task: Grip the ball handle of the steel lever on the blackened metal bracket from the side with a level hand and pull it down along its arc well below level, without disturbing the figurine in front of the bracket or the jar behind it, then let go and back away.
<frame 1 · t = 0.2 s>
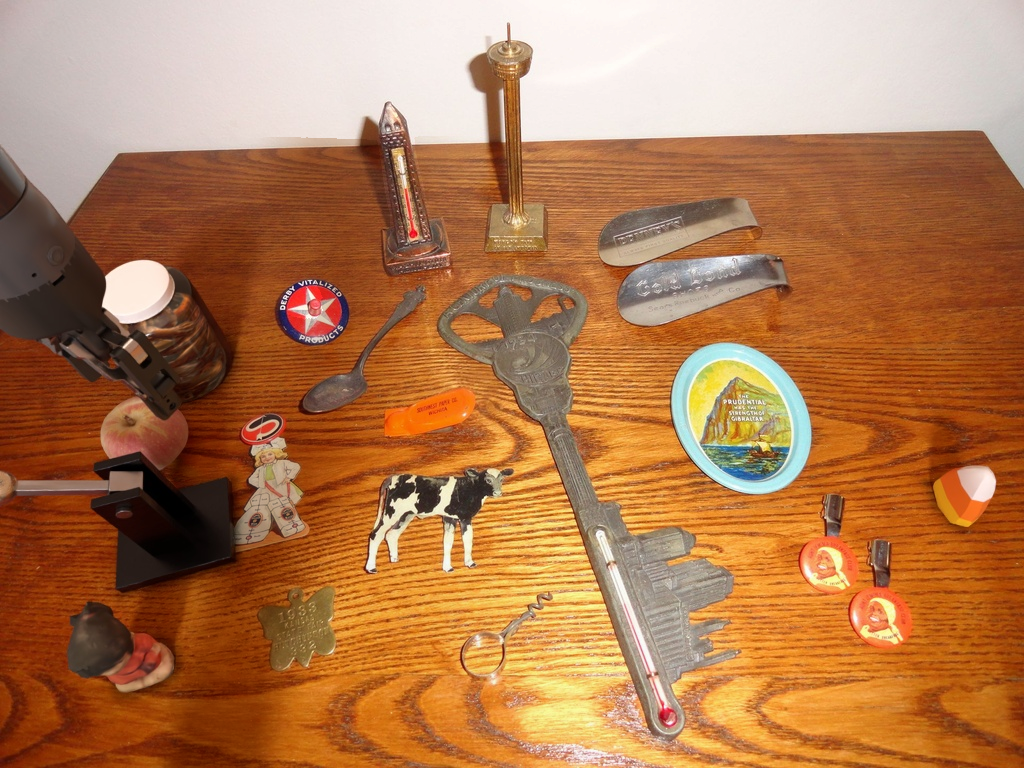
hand: (134, 392, 59), 24 cm above the table, tool pointing down, fingers open, 8 cm apart
bracket: (179, 535, 77), on the table
candy corn: (948, 506, 75), on the table
apple: (162, 453, 83), on the table
lever: (62, 487, 64), point 15 cm above the table, hinge at 30.0°
jar: (189, 365, 91), on the table
figurine: (145, 667, 69), on the table
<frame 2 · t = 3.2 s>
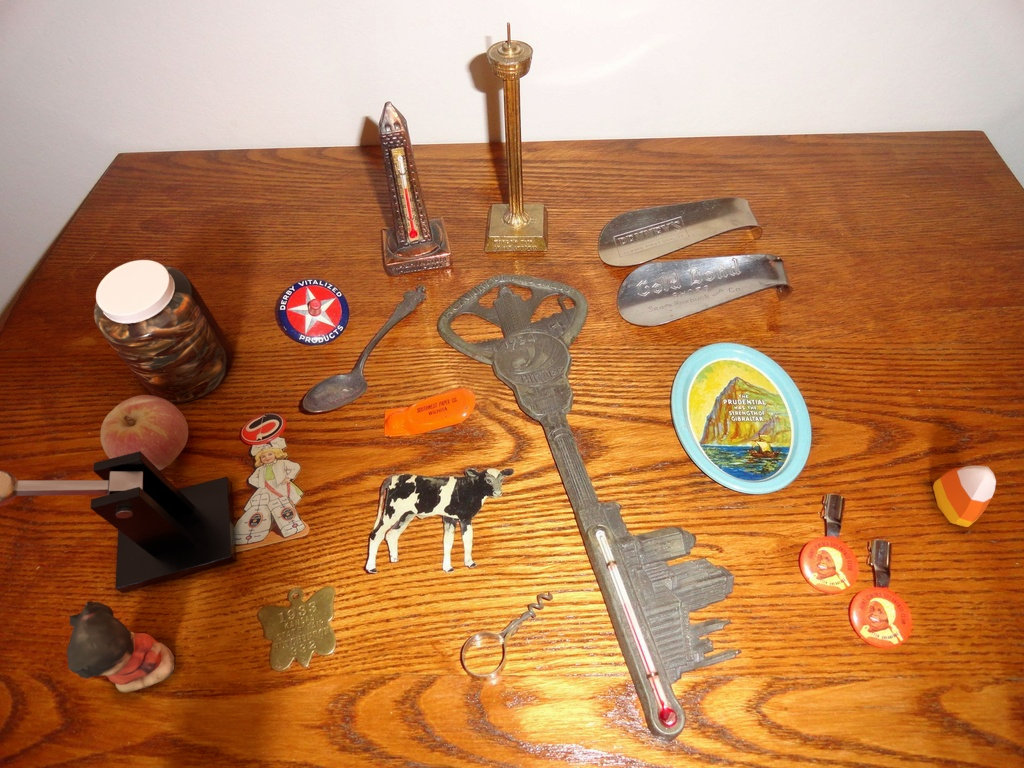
nothing on the table moved.
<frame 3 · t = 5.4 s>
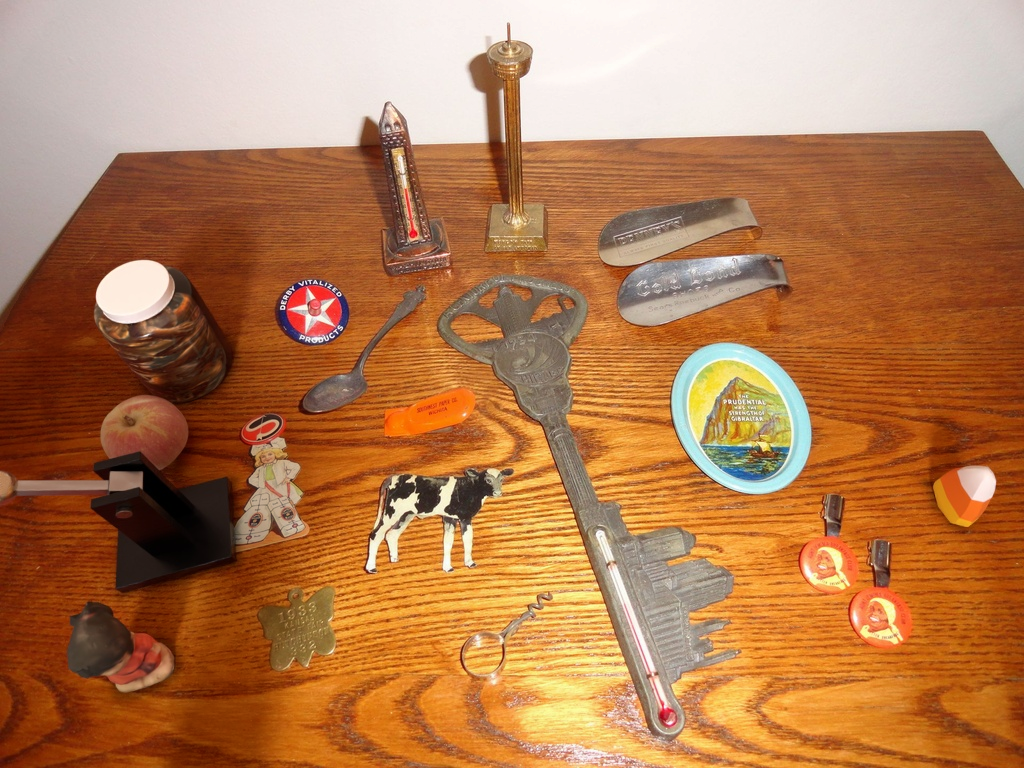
nothing on the table moved.
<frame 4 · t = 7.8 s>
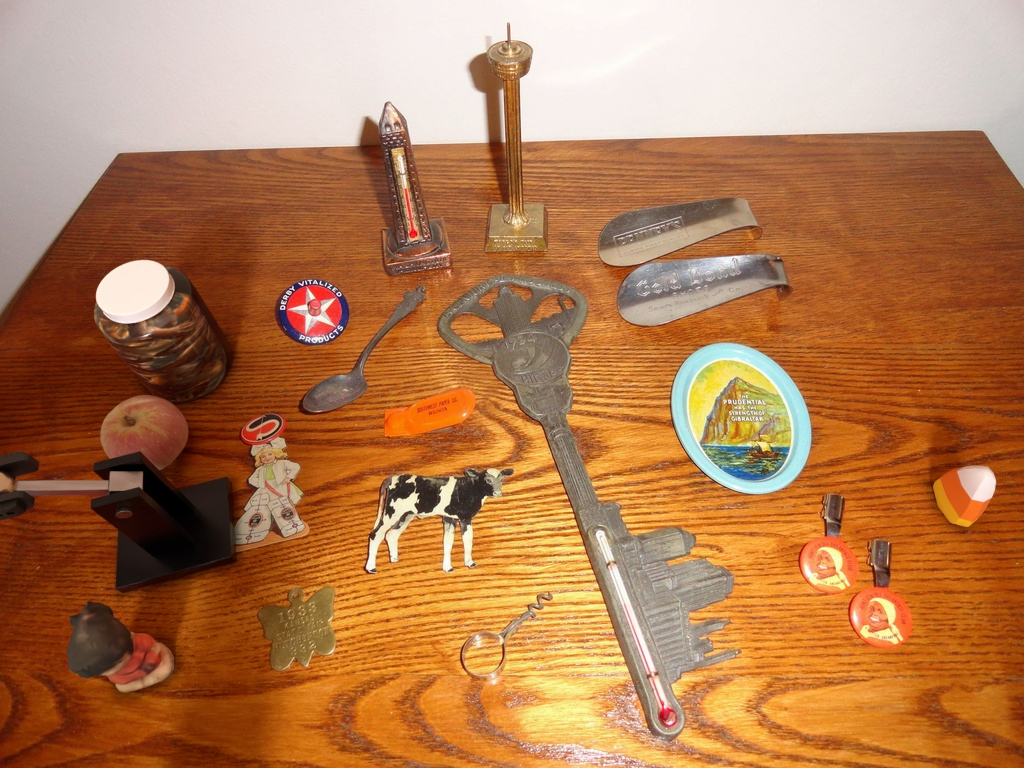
hand: (30, 479, 62), 17 cm above the table, tool horizontal, fingers closed on lever, 3 cm apart
lever: (62, 487, 64), point 15 cm above the table, hinge at 30.0°, touching gripper
everything else where it was.
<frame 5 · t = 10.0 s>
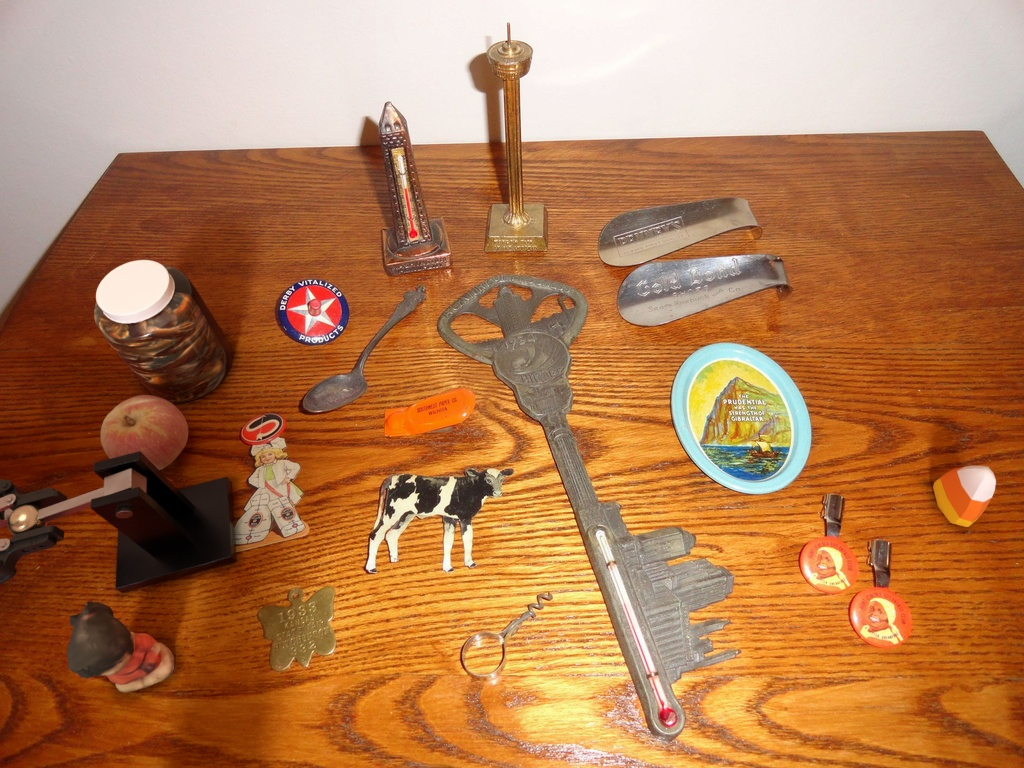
hand: (60, 514, 68), 10 cm above the table, tool horizontal, fingers closed on lever, 3 cm apart
lever: (75, 504, 67), point 11 cm above the table, hinge at -8.6°, touching gripper
everything else where it was.
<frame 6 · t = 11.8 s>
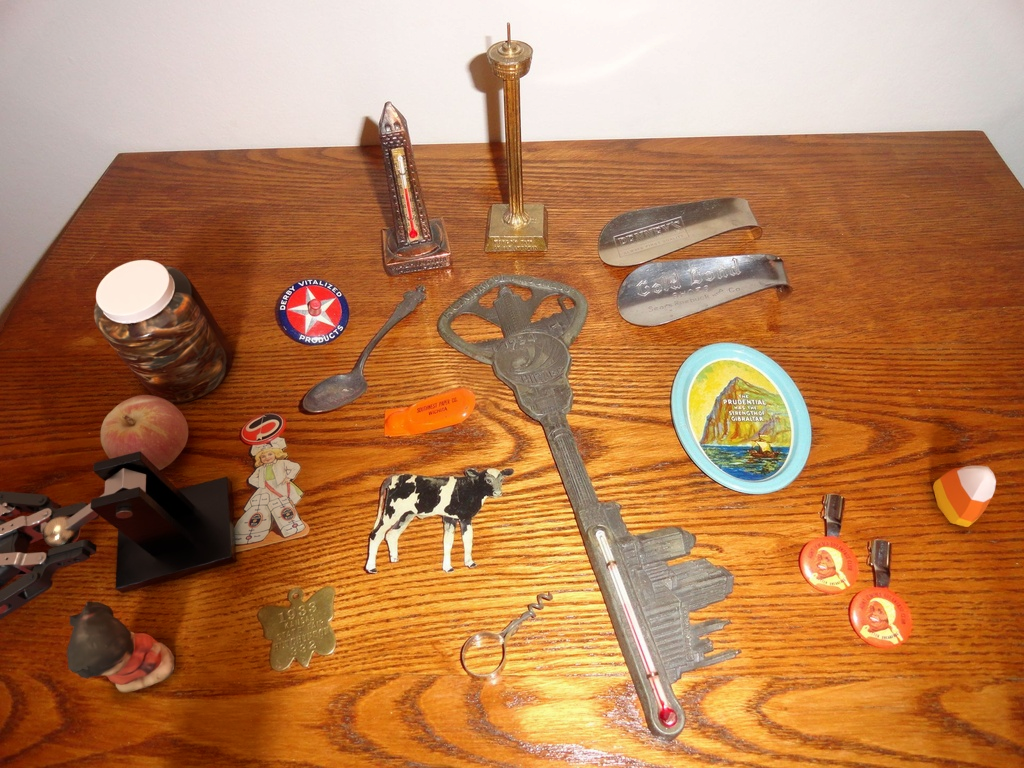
hand: (92, 528, 71), 6 cm above the table, tool horizontal, fingers open, 3 cm apart
lever: (92, 510, 69), point 9 cm above the table, hinge at -29.9°
everything else where it was.
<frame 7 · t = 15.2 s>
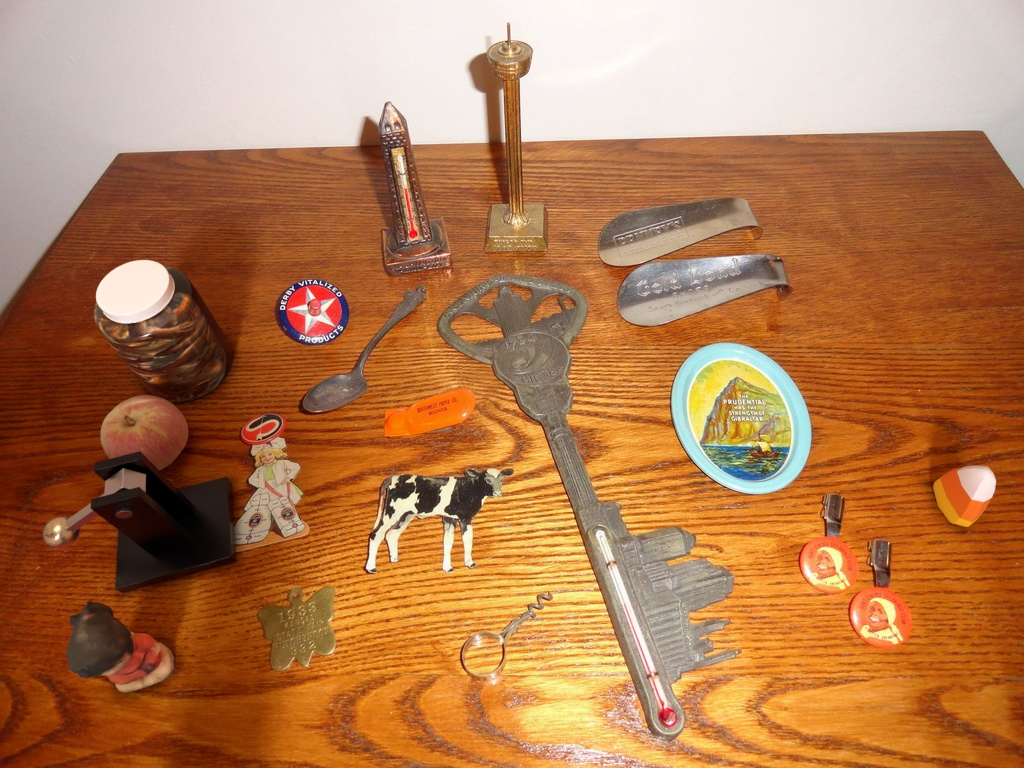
nothing on the table moved.
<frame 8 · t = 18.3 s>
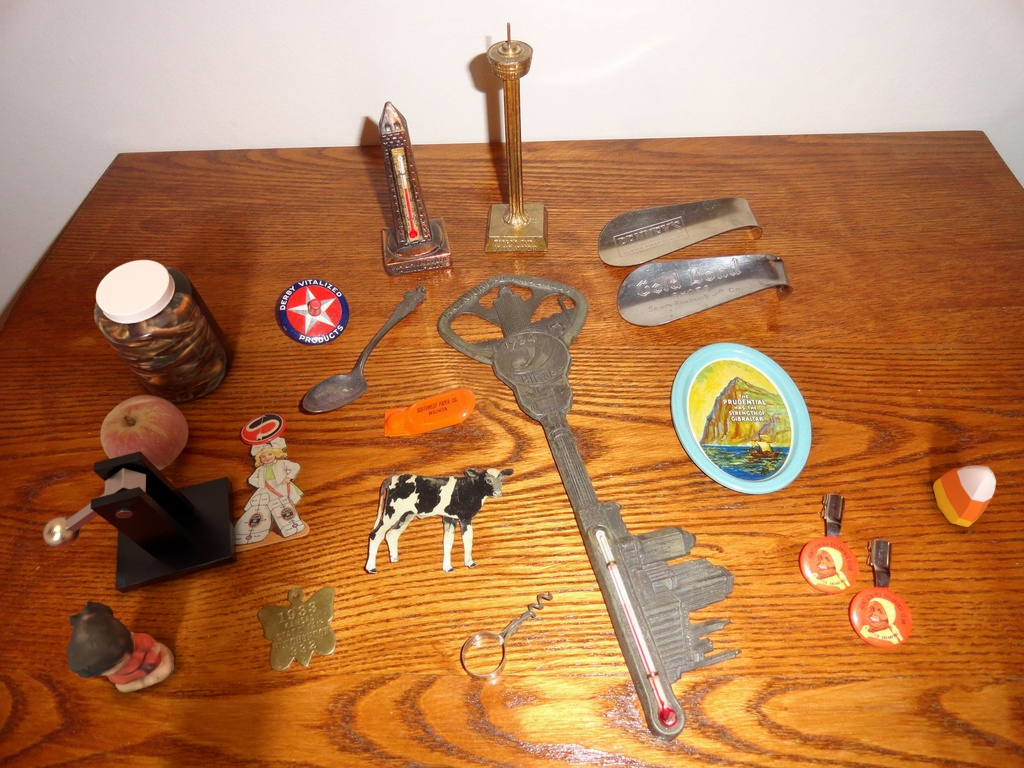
nothing on the table moved.
at the end: lever at -30° (first picture: +30°); figurine moved 0.2 cm from its start; jar moved 0.2 cm from its start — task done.
